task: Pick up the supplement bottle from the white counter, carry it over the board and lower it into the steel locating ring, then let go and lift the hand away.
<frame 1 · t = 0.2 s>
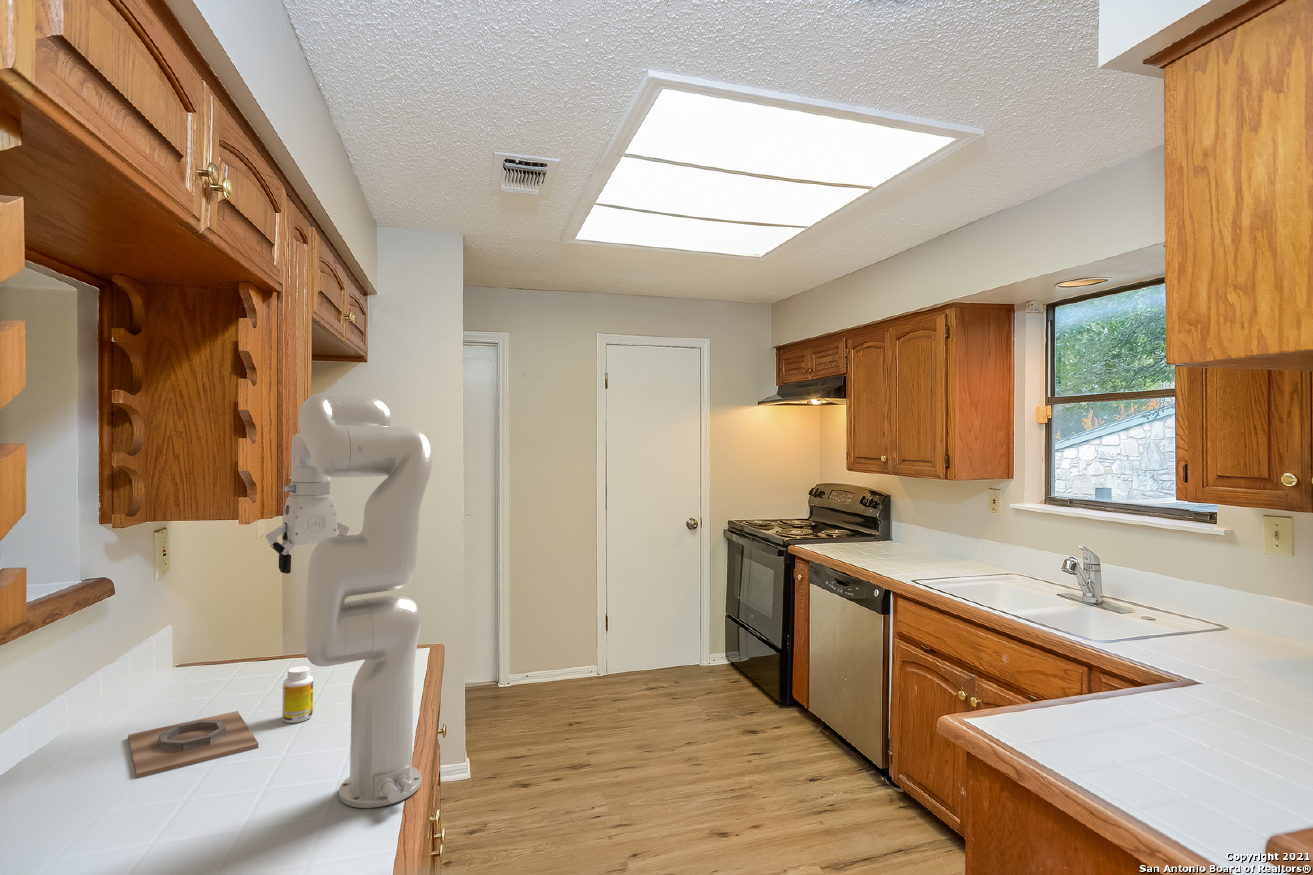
hand: (308, 569, 144), 30 cm above the counter, tool pointing down, fingers open, 9 cm apart
ring board: (192, 743, 126), on the counter
supplement bottle: (297, 719, 138), on the counter
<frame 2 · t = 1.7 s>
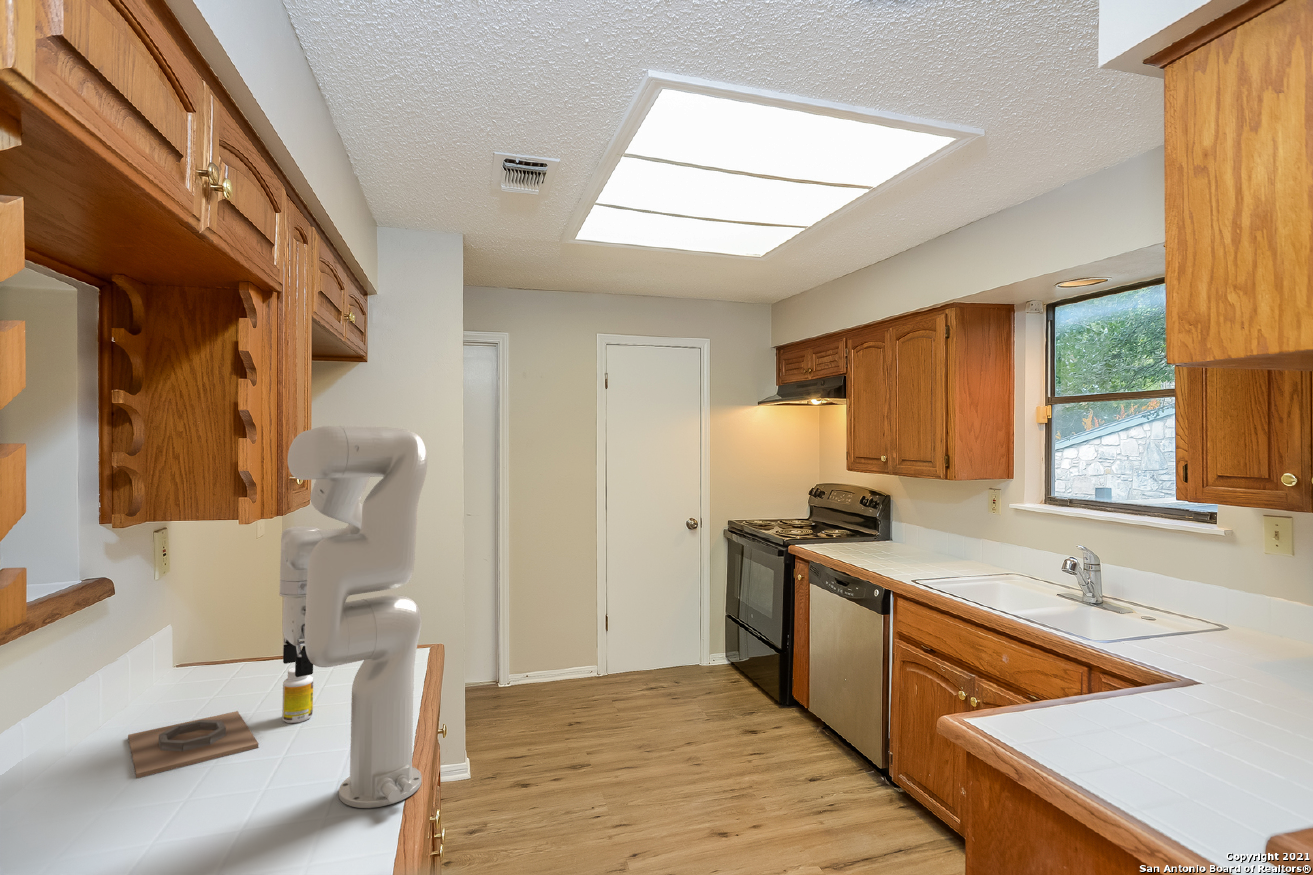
hand: (297, 668, 138), 10 cm above the counter, tool pointing down, fingers open, 9 cm apart
nothing on the counter moved.
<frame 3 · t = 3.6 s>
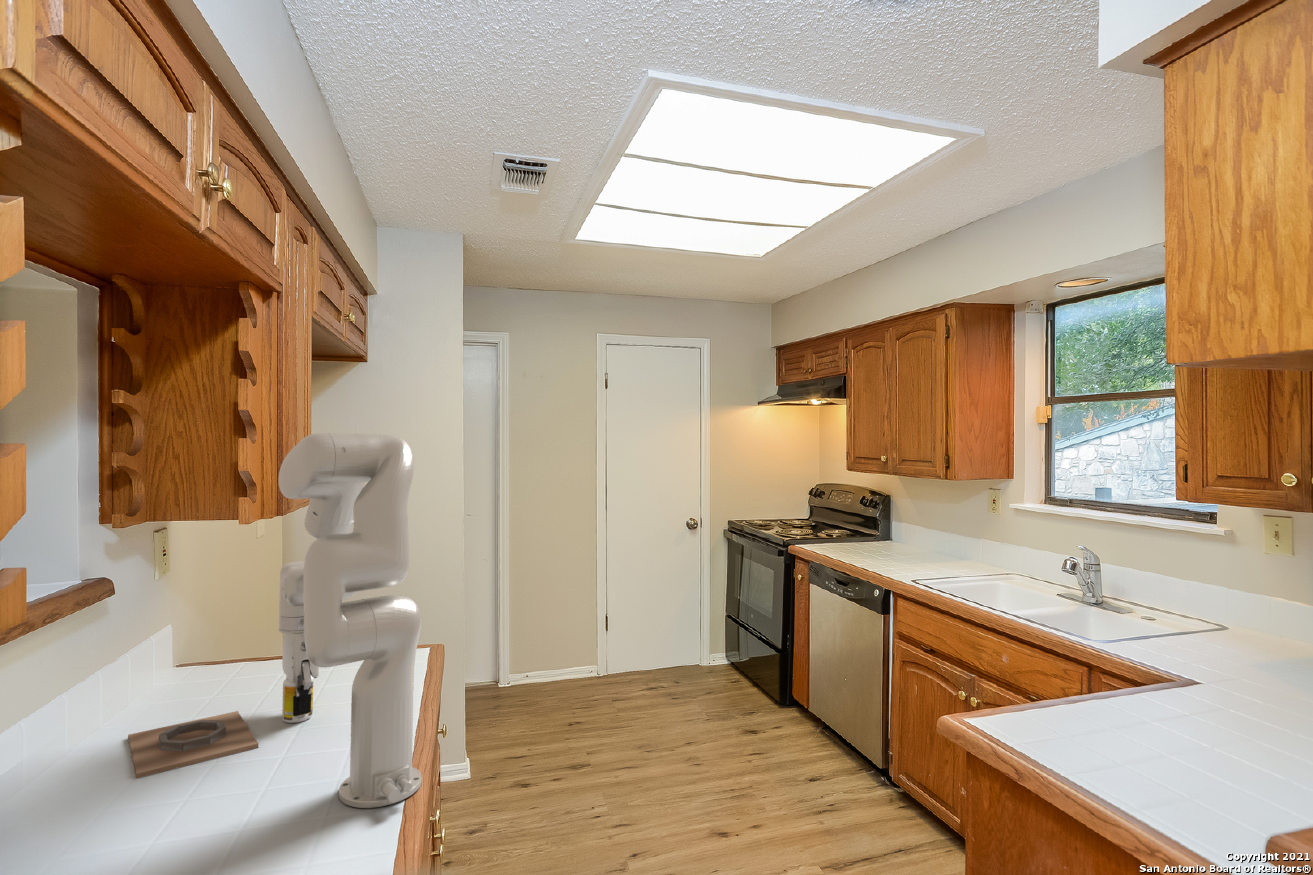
hand: (297, 708, 138), 2 cm above the counter, tool pointing down, fingers closed on supplement bottle, 5 cm apart
supplement bottle: (297, 719, 138), on the counter, touching gripper
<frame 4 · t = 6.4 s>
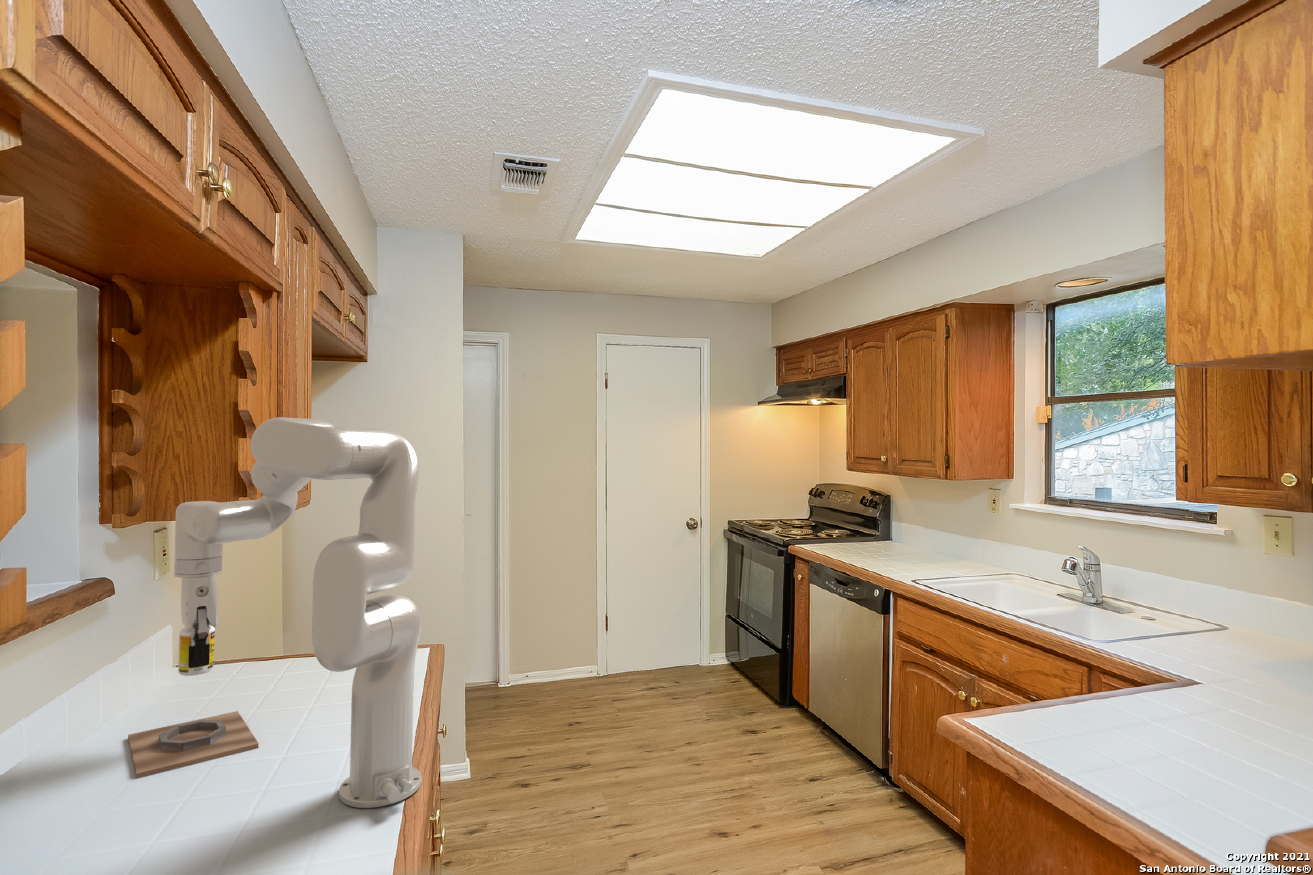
hand: (196, 661, 126), 15 cm above the counter, tool pointing down, fingers closed on supplement bottle, 5 cm apart
supplement bottle: (196, 672, 126), point 13 cm above the counter, touching gripper
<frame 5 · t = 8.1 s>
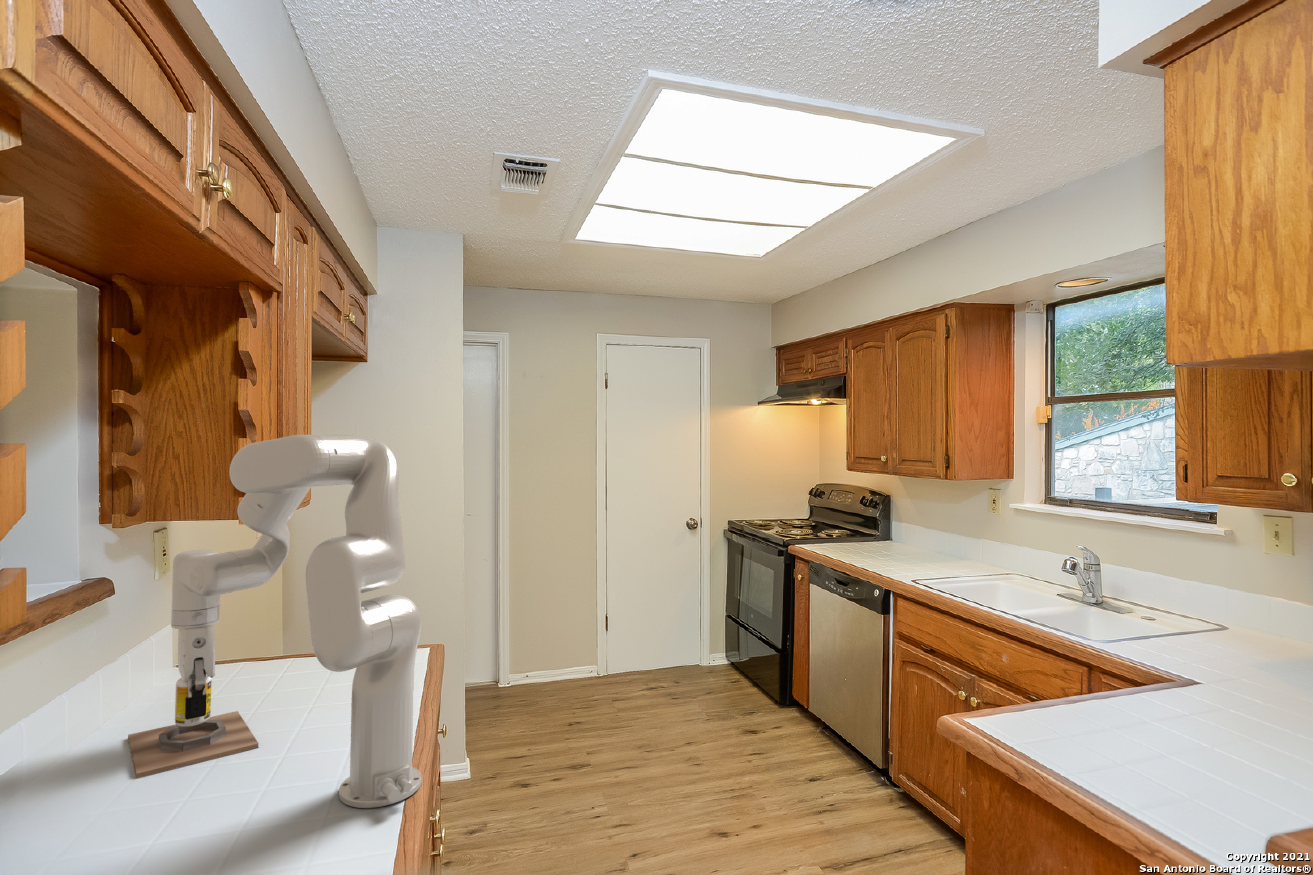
hand: (193, 710, 126), 6 cm above the counter, tool pointing down, fingers closed on supplement bottle, 5 cm apart
supplement bottle: (192, 722, 126), point 4 cm above the counter, touching gripper
when the fingers open (4 cm above the counter, at t = 9.4 s): supplement bottle stays where it is, resting on ring board.
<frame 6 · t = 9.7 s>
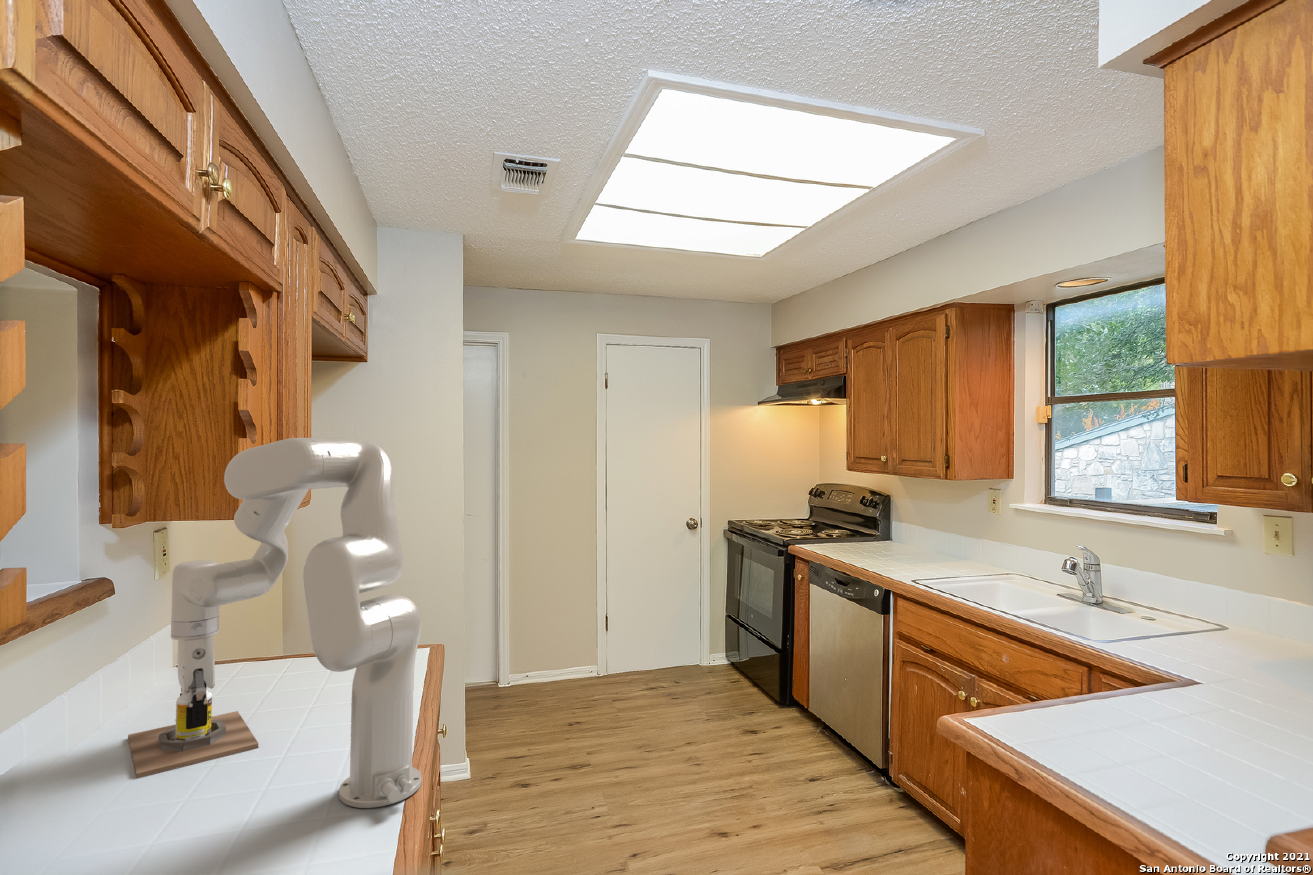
hand: (193, 719, 126), 5 cm above the counter, tool pointing down, fingers open, 8 cm apart
supplement bottle: (193, 740, 126), point 1 cm above the counter, touching ring board
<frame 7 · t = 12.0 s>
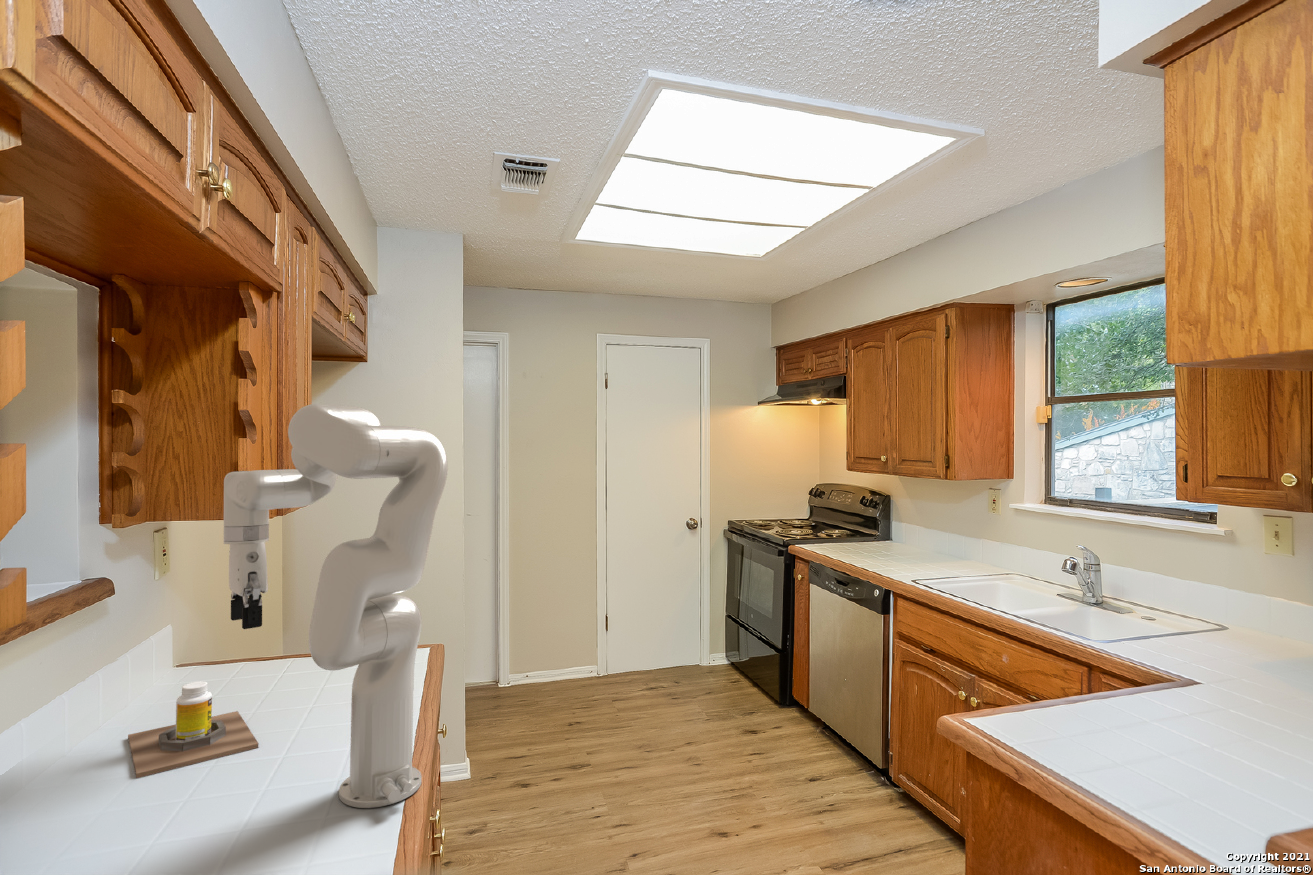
hand: (246, 623, 129), 22 cm above the counter, tool pointing down, fingers open, 9 cm apart
nothing on the counter moved.
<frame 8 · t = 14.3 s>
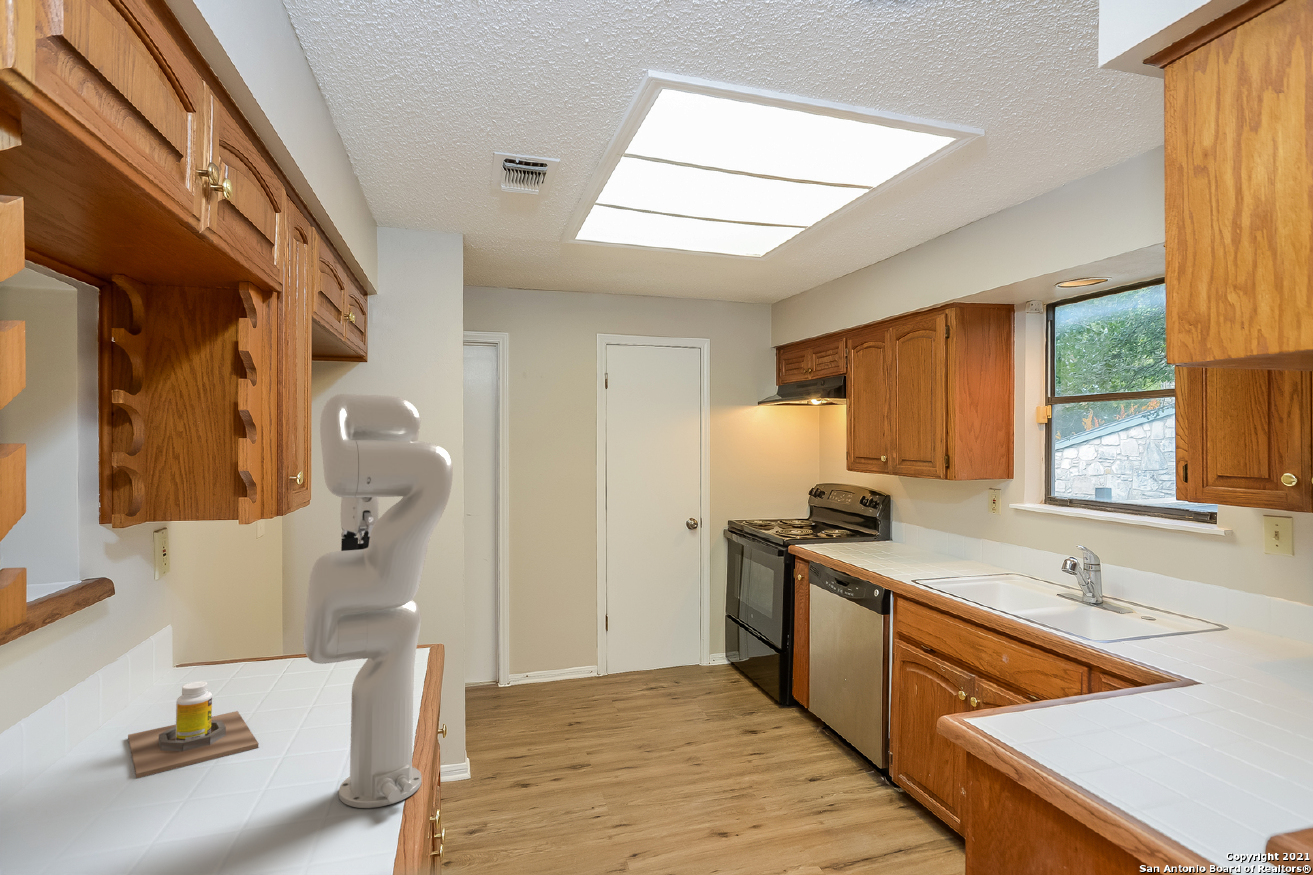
hand: (357, 559, 136), 33 cm above the counter, tool pointing down, fingers open, 9 cm apart
nothing on the counter moved.
at the end: supplement bottle 0.3 cm from the ring board (horizontally); supplement bottle tilted 0°; supplement bottle point 0.6 cm above the counter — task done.
